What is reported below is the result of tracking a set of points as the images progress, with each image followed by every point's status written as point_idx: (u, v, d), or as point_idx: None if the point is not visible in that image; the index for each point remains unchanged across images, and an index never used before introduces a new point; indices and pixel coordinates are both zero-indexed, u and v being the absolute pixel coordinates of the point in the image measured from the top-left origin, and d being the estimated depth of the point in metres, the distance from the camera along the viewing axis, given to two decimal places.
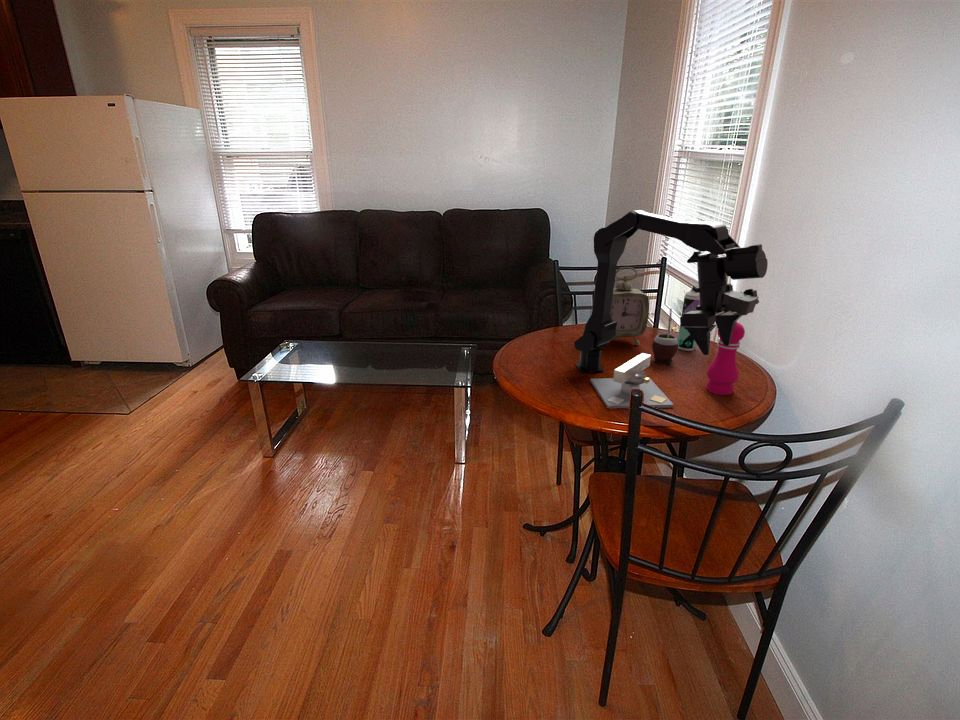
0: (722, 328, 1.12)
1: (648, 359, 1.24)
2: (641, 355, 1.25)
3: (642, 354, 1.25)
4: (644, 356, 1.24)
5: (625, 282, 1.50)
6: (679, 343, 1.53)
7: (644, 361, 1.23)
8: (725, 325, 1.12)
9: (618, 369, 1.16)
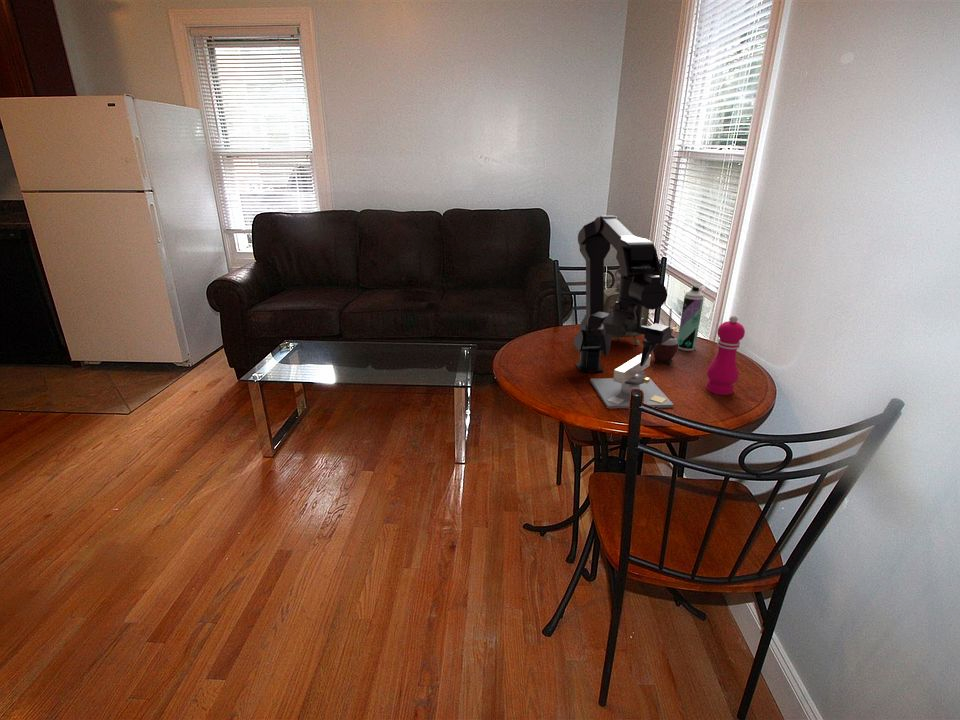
0: None
1: (648, 359, 1.24)
2: (641, 355, 1.25)
3: None
4: None
5: None
6: (679, 343, 1.53)
7: None
8: None
9: (618, 369, 1.16)
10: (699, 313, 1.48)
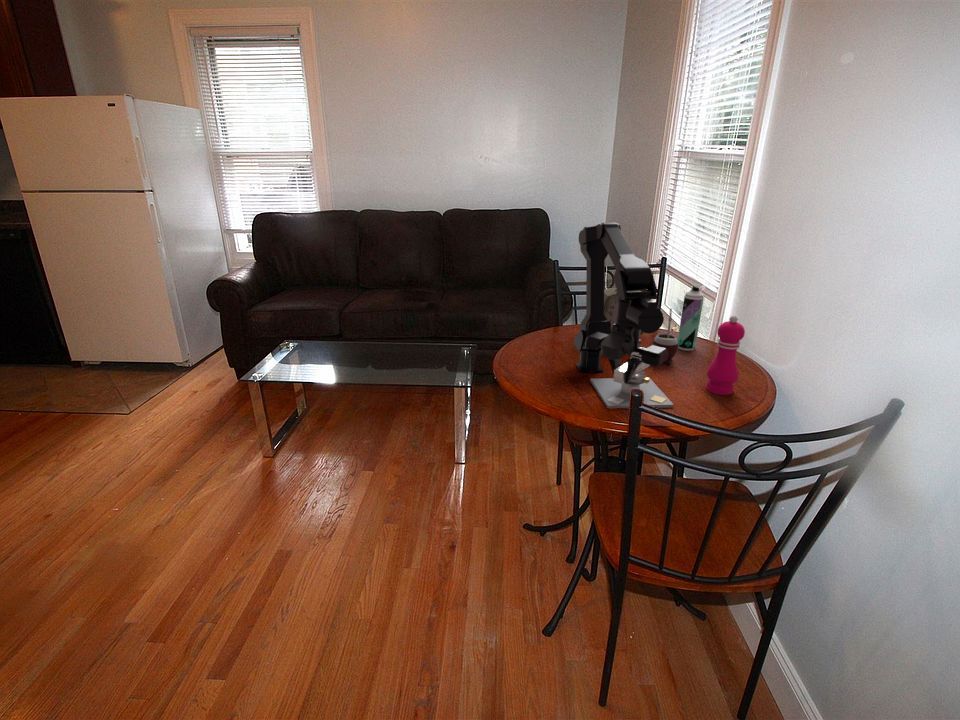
0: None
1: None
2: None
3: None
4: None
5: None
6: (679, 343, 1.53)
7: None
8: None
9: (618, 369, 1.16)
10: (699, 313, 1.48)
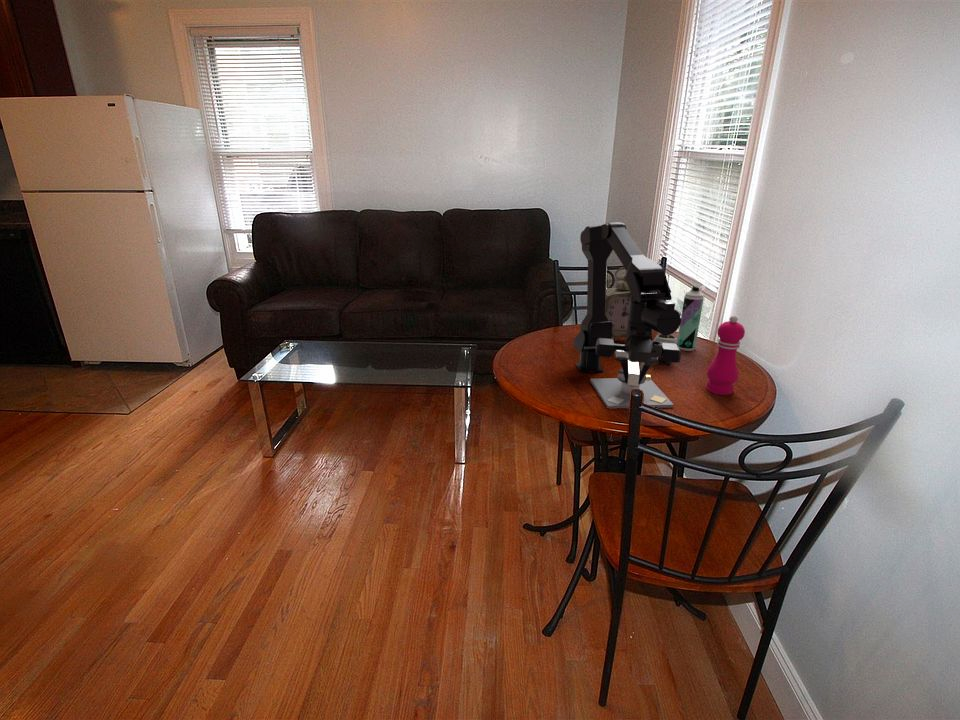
0: (641, 367, 1.16)
1: None
2: None
3: None
4: None
5: (625, 282, 1.50)
6: (679, 343, 1.53)
7: None
8: (642, 365, 1.15)
9: (631, 372, 1.14)
10: (699, 313, 1.48)
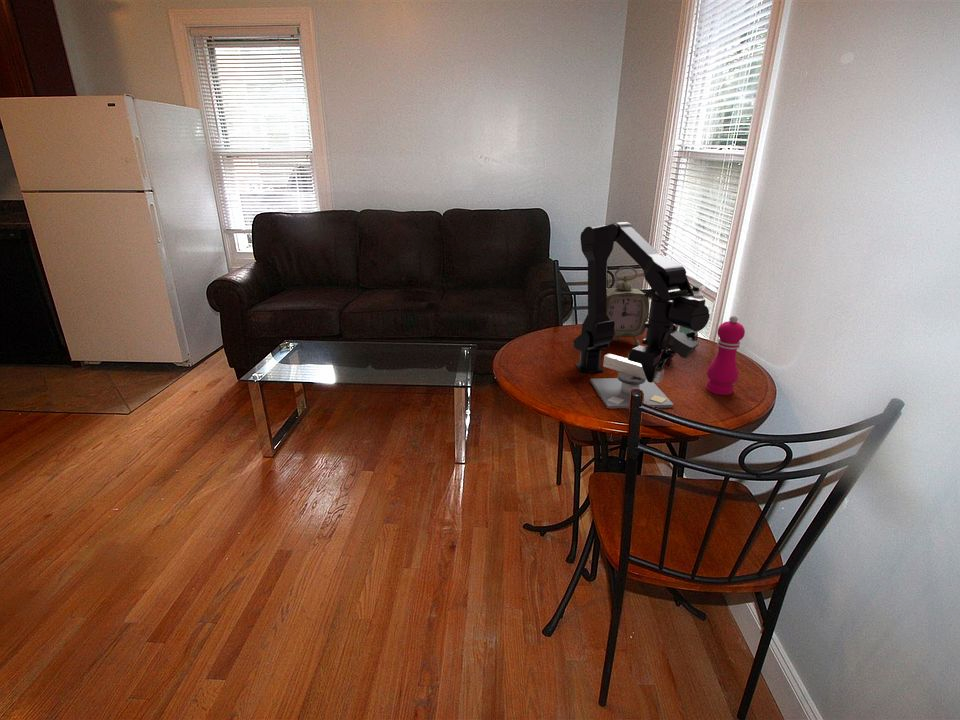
0: None
1: None
2: (611, 356, 1.24)
3: (608, 356, 1.24)
4: (615, 356, 1.24)
5: (625, 282, 1.50)
6: None
7: None
8: None
9: (658, 370, 1.16)
10: None
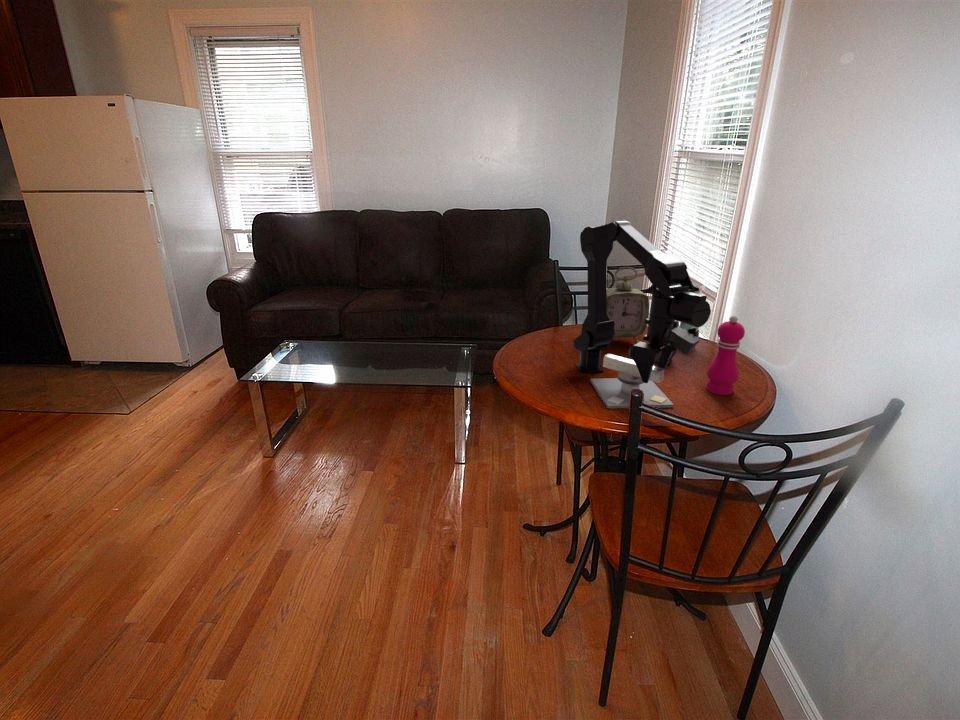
0: (660, 356, 1.20)
1: None
2: (611, 357, 1.24)
3: (608, 356, 1.24)
4: (615, 356, 1.24)
5: (625, 282, 1.50)
6: None
7: None
8: (664, 353, 1.19)
9: (658, 370, 1.16)
10: None
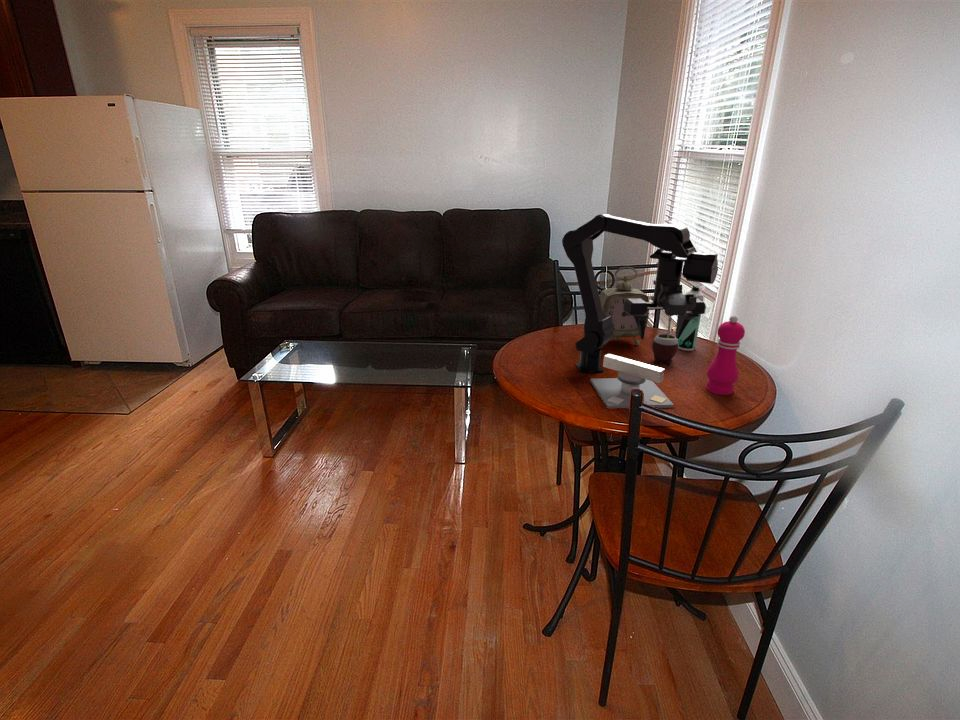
0: (679, 323, 1.23)
1: None
2: (611, 357, 1.24)
3: (608, 356, 1.24)
4: (615, 356, 1.24)
5: (625, 282, 1.50)
6: (679, 343, 1.53)
7: None
8: (680, 320, 1.22)
9: (658, 370, 1.16)
10: None
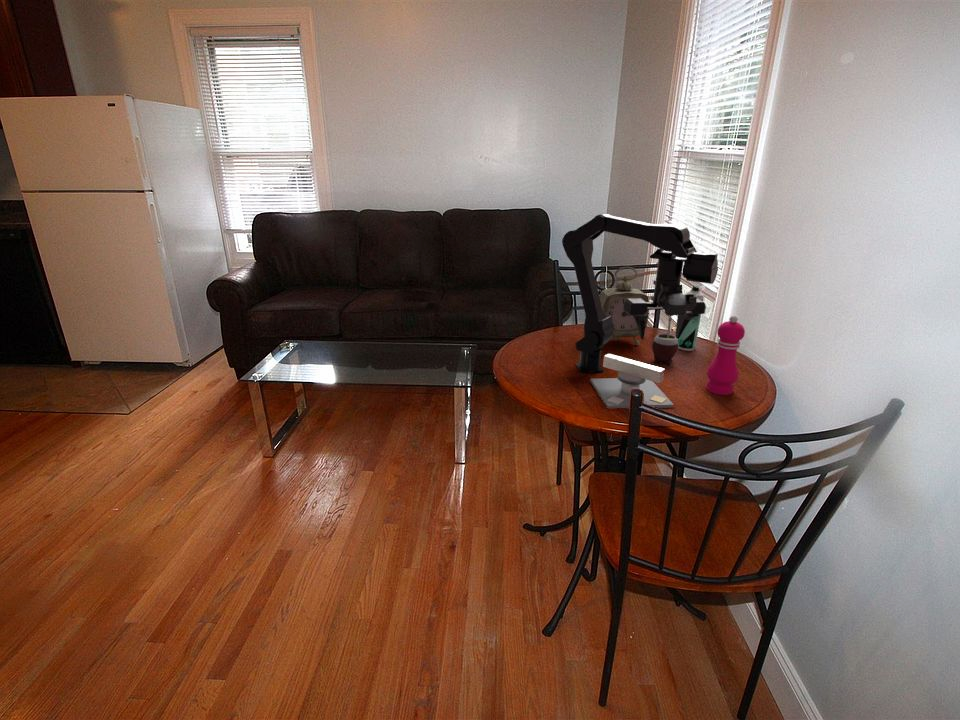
0: (679, 323, 1.23)
1: None
2: (611, 357, 1.24)
3: (608, 356, 1.24)
4: (615, 356, 1.24)
5: (625, 282, 1.50)
6: (679, 343, 1.53)
7: None
8: (680, 320, 1.22)
9: (658, 370, 1.16)
10: None
